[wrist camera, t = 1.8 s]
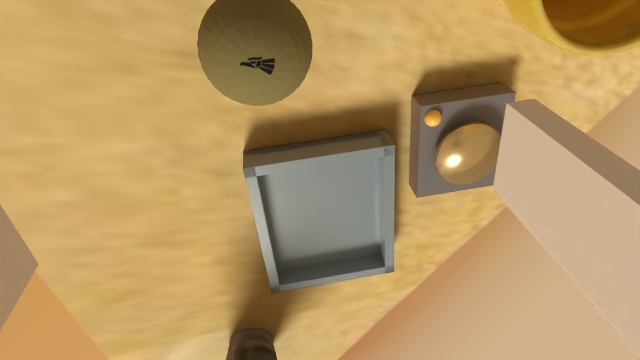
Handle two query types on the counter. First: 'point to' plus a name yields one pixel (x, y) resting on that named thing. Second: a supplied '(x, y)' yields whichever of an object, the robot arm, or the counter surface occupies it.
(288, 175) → the tray
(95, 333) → the counter surface
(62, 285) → the counter surface
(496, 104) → the tester
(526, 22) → the plant pot
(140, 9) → the counter surface
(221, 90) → the light bulb
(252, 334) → the beverage cup
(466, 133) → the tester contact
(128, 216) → the counter surface
